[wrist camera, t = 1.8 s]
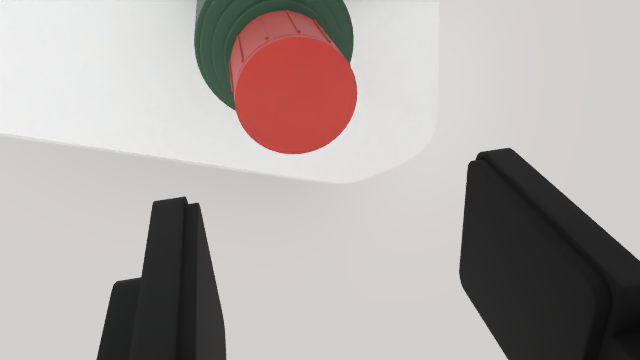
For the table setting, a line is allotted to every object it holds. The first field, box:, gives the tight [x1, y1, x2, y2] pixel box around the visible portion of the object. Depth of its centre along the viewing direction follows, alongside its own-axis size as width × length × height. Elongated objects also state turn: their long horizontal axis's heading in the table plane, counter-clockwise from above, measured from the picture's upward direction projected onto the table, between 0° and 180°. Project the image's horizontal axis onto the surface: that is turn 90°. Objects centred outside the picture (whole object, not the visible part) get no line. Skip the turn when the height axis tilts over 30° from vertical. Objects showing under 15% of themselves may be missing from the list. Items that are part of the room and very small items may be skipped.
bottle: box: [194, 0, 353, 111], centre depth 25 cm, size 6×6×20 cm
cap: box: [229, 10, 357, 154], centre depth 18 cm, size 4×4×4 cm
